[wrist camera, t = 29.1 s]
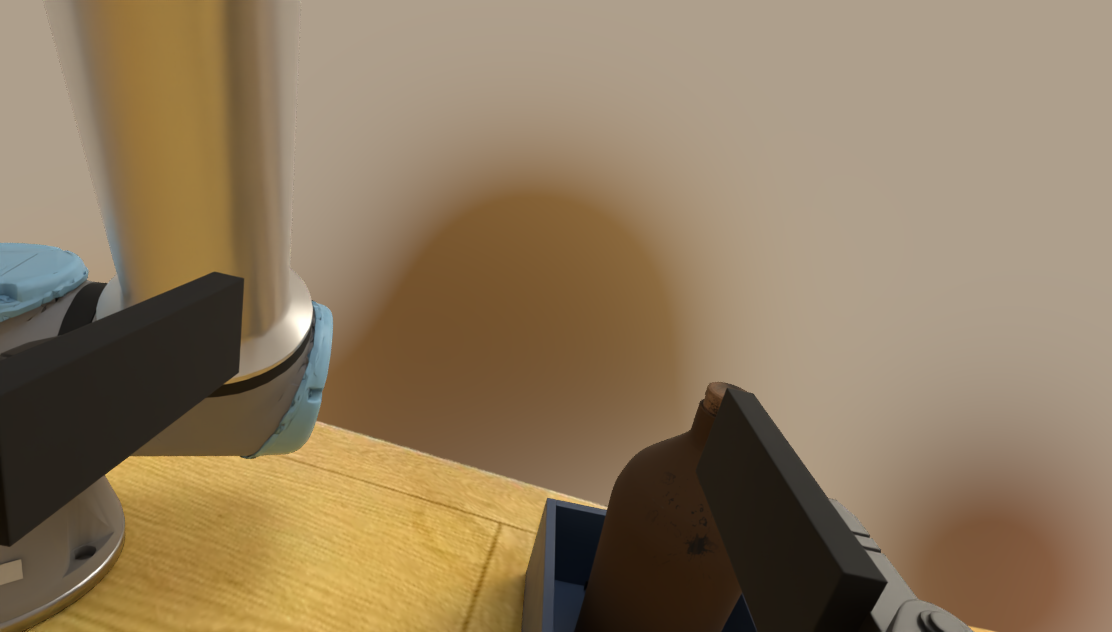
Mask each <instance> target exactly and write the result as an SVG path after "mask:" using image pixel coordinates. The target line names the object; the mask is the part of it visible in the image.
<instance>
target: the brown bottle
mask: <svg viewBox="0 0 1112 632" xmlns="http://www.w3.org/2000/svg"><path fill="white" fill-rule="evenodd" d="M726 388H731V389H735V390H740V391H744V392H747V391H745V390H743V389H741V388H739V387H737V386H734V385H732V384H728V383H723V382H712V383H710V384H709V385H708V387H707V390H706V393H705V395H706V396H705V399H703V400H702V401H700V403H699V407H698V410H697V413H696V415H695V418H694V422H693V425H692V428H691V430H689V431H688V432H686V433H684V434H681V435H678V436H676V437H673V438H670V439H667V440H664V441H661V442H659V443H656V444H653V445H651V446H649V447H647V448H645V449H643V450H642V451H640V452H639V453H638V454H636V455H635V456H634V457H633V458H632V459H631V460H630V461H629V463H628V464H627V465H626V467H625V468H624V469H623V470H622V472H621V473H620V475H619V476H618V478H617V480H616V482H615V485H614V487H613V490H612V493H611V497H610V501H609V505H608V508H607V512H606V516H605V520H604V524H603V528H602V532H601V536H600V540H599V544H598V548H597V551H596V555H595V559H594V563H593V566H592V570H591V574H590V578H589V580H586V583H585V586H584V590H583V591H584V592H585V596H584V600H583V603H582V606H581V610H580V613H579V617H578V620H577V623H576V627H575V630H574V632H721V631H722V629H723V627H724V625H725V623H726V621H727V620H728V618H729V616H730V614H731V612H732V610H733V608H734V606H735V605H736V603H737V601H738V599H739V597H740V595H741V594H742V590H741V588H740V585H739V583H738V580H737V577H736V575H735V572H734V570H733V567H732V565H731V562H730V559H729V557H728V554H727V552H726V549H725V546H724V544H723V541H722V539H721V536H720V533H719V531H718V528H717V526H716V523H715V520H714V518H713V515H712V513H711V510H710V508H709V505H708V502H707V500H706V497H705V495H704V492H703V489H702V487H701V484H700V482H699V479H698V476H697V474H696V471H695V470H696V468H697V465H698V462H699V460H700V457H701V454H702V452H703V449H704V447H705V444H706V441H707V439H708V436H709V433H710V431H711V428H712V425H713V423H714V420H715V417H716V415H717V412H718V410H719V407H720V404H721V402H722V399H723V396H724V394H725V391H726ZM583 594H584V593H583Z"/></svg>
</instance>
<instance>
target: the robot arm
mask: <svg viewBox="0 0 1112 632" xmlns="http://www.w3.org/2000/svg"><path fill="white" fill-rule="evenodd" d="M43 3H44V6H45V10H46V14H47V17H48V21H49V25H50V29H51V32H52V36H53V39H54V43H55V47H56V51H57V54H58V58H59V62H60V65H61V69H62V73H63V76H64V80H65V84H66V88H67V91H68V95H69V99H70V102H71V106H72V110H73V113H74V117H75V121H76V124H77V128H78V132H79V136H80V139H81V143H82V146H83V150H84V154H85V157H86V161H87V165H88V169H89V172H90V176H91V180H92V183H93V187H94V191H95V194H96V198H97V202H98V205H99V209H100V213H101V217H102V220H103V224H104V228H105V231H106V235H107V239H108V242H109V246H110V250H111V254H112V257H113V261H114V265H115V268H116V272H117V274H116V275H115V276H114V277H113V278H112V279H111V280H110V281H109V283H99V282H91V281H88V280H86V279H87V278H88V269H87V268H86V267H85V265H84V263H83V261H82V259H81V258H80V257H78V255H76V254H75V253H73V252H70V251H63V250H61V249H60V248H57V247H52V246H46V245H37V244H25V243H0V632H21V631H23V630H26V629H28V628H30V627H32V626H34V625H36V624H38V623H40V622H42V621H44V620H46V619H48V618H50V617H51V616H53V615H55V614H57V613H58V612H60V611H62V610H63V609H65V608H67V607H68V606H70V605H71V604H73V603H74V602H75V601H77V600H78V599H80V598H81V597H82V596H84V595H85V594H86V593H87V592H89V591H90V590H91V589H92V588H93V587H94V586H95V585H97V584H98V583H99V582H100V581H101V580H102V579H103V578H104V576H105V575H106V574H107V573H108V572H109V571H110V569H111V568H112V567H113V566H114V564H115V562H116V561H117V559H118V557H119V555H120V553H121V551H122V548H123V545H124V541H125V518H124V513H123V509H122V506H121V503H120V500H119V499H118V497H117V495H116V494H115V492H114V490H113V489H112V487H111V485H110V483H109V482H108V480H107V478H106V477H105V474H107V473H108V472H109V471H110V470H112V469H113V468H114V467H116V466H117V465H118V464H120V463H121V462H122V461H124V460H125V459H126V458H128V457H129V456H240V457H242V458H246V459H253V458H256V457H259V456H263V455H281V454H289V453H292V452H295V451H297V450H298V449H300V448H301V447H302V446H303V445H304V444H305V443H306V442H307V440H308V439H309V437H310V435H311V433H312V431H313V428H314V425H315V422H316V419H317V416H318V413H319V409H320V404H321V400H322V390H323V389H324V385H325V381H326V378H327V373H328V367H329V361H330V355H331V346H332V335H333V318H332V313H331V311H330V310H329V309H328V308H327V307H326V306H324V305H322V304H317V303H316V302H314V301H313V300H311V297H310V293H309V290H308V289H307V286H306V285H305V283H304V281H303V280H302V279H301V278H300V276H299V275H298V274H297V273H296V272H295V271H294V270H293V269H292V268H290V257H291V231H292V209H293V185H294V160H295V136H296V113H297V111H296V110H297V88H298V63H299V39H300V16H301V0H43ZM695 471H696V474H697V476H698V479H699V482H700V484H701V487H702V489H703V492H704V495H705V497H706V500H707V502H708V505H709V508H710V510H711V513H712V515H713V518H714V520H715V523H716V526H717V528H718V531H719V533H720V536H721V539H722V541H723V544H724V546H725V549H726V552H727V554H728V557H729V559H730V562H731V565H732V567H733V570H734V572H735V575H736V577H737V580H738V583H739V585H740V588H741V590H742V593H743V596H744V598H745V601H746V603H747V606H748V609H749V611H750V614H751V616H752V619H753V621H754V624H755V627H756V629H757V632H973V631H972V630H971V629H970V628H969V627H968V626H967V625H966V624H965V623H963V622H962V621H961V620H959V619H958V618H956V617H955V616H954V615H952V614H951V613H949V612H948V611H946V610H944V609H942V608H940V607H938V606H936V605H934V604H932V603H929V602H925V601H922V600H918V598H917V597H916V596H915V595H914V593H913V592H912V590H911V589H910V588H909V586H908V585H907V584H906V582H905V581H904V580H903V578H902V577H901V576H900V575H899V573H898V572H897V570H896V569H895V568H894V566H893V565H892V564H891V562H890V561H889V560H888V559H887V557H886V556H885V555H884V554H882V553H881V549H880V548H879V547H878V545H877V544H876V543H875V541H874V540H873V539H872V538H870V535H869V533H868V532H867V531H866V529H865V528H864V527H863V526H862V524H861V523H860V522H859V520H858V519H857V518H856V517H855V516H854V515H853V514H852V513H851V512H850V511H848V510H847V509H846V508H845V507H844V506H843V505H841V504H840V503H839V502H838V501H837V500H834V499H829V498H828V497H827V496H826V495H825V493H824V492H823V490H822V489H821V488H820V486H819V485H818V484H817V482H816V481H815V479H814V478H813V476H812V475H811V474H810V472H809V471H808V469H807V468H806V467H805V465H804V464H803V463H802V461H801V460H800V458H799V457H798V455H797V454H796V453H795V451H794V450H793V448H792V447H791V446H790V444H789V443H788V441H787V440H786V439H785V437H784V436H783V434H782V433H781V432H780V430H779V429H778V427H777V426H776V425H775V423H774V422H773V420H772V419H771V418H770V416H769V415H768V413H767V412H766V411H765V410H764V408H763V406H762V405H761V404H760V402H759V401H758V399H757V398H756V397H755V395H754V394H753V393H749V392H744V391H740V390H735V389H731V388H726V391H725V394H724V396H723V399H722V402H721V404H720V407H719V410H718V412H717V415H716V417H715V420H714V423H713V425H712V428H711V431H710V433H709V436H708V439H707V441H706V444H705V447H704V449H703V452H702V454H701V457H700V460H699V462H698V465H697V468H696V470H695Z"/></svg>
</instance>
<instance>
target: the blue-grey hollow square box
mask: <svg viewBox="0 0 1112 632" xmlns="http://www.w3.org/2000/svg"><path fill="white" fill-rule="evenodd" d="M606 512H607V510H604V509H599V508H594V507H589V506H584V505H580V504H575V503H570V502H565V501H560V500H555V499H550V498H547V500H546V504H545V507H544V511H543V514H542V518H541V522H540V525H539V529H538V532H537V536H536V539H535V543H534V546H533V550H532V554H531V557H530V561H529V564H528V568H527V571H526V580H525V592H524V604H523V617H522V629H521V632H574V630H575V627H576V623H577V620H578V617H579V613H580V610H581V606H582V603H583V600H584V596H585V592H584V591H583V590H584V586H585V583H586V580H589V578H590V574H591V570H592V566H593V563H594V559H595V555H596V551H597V548H598V544H599V540H600V536H601V532H602V528H603V524H604V520H605V516H606ZM583 593H584V594H583ZM721 632H757V629H756V627H755V624H754V621H753V619H752V616H751V614H750V611H749V609H748V606H747V603H746V601H745V598H744V596H743V593H742V594H741V595H740V597H739V599H738V601H737V603H736V605H735V606H734V608H733V610H732V612H731V614H730V616H729V618H728V620H727V621H726V623H725V625H724V627H723V629H722V631H721Z"/></svg>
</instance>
